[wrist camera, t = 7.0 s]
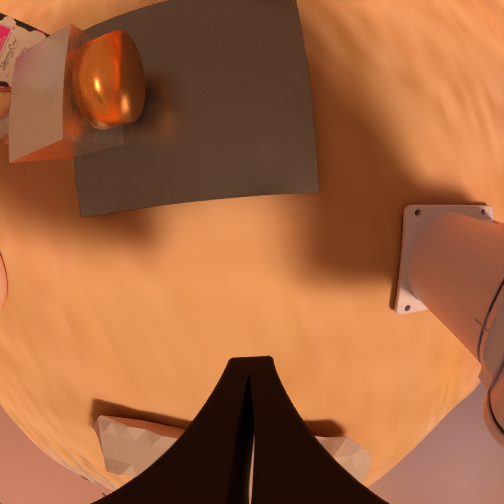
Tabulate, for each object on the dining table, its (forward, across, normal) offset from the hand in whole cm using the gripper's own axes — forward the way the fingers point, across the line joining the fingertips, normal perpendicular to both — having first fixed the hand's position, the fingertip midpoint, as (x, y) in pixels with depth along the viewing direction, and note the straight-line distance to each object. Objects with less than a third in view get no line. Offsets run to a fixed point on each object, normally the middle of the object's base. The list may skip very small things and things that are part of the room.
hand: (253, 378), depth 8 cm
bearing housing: (+9, +4, -12) cm, 16 cm away
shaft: (+7, +9, -12) cm, 17 cm away
